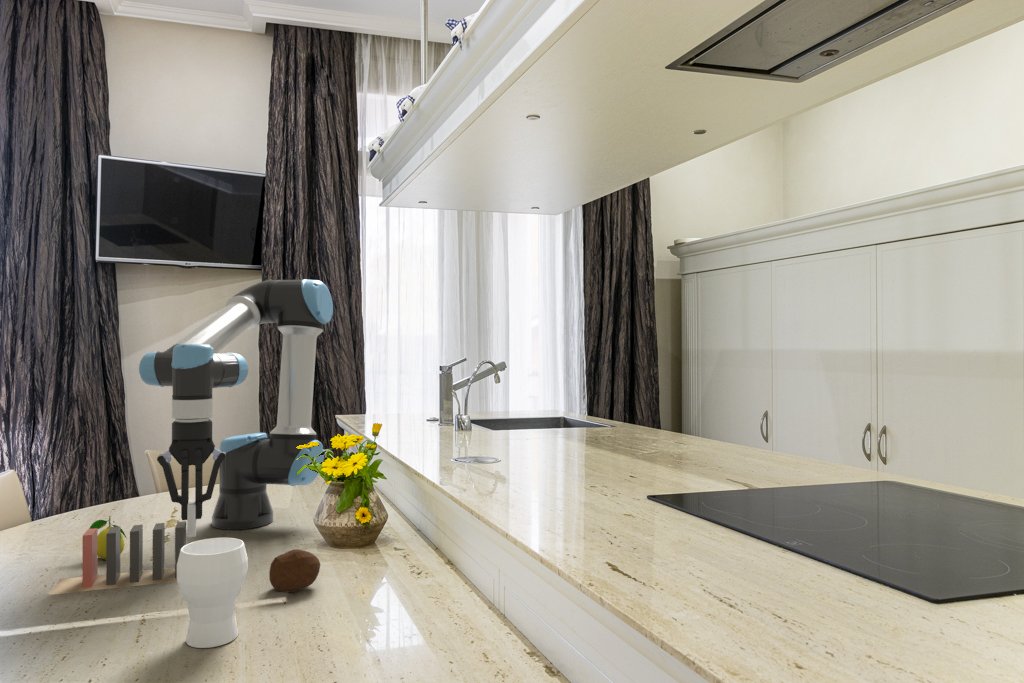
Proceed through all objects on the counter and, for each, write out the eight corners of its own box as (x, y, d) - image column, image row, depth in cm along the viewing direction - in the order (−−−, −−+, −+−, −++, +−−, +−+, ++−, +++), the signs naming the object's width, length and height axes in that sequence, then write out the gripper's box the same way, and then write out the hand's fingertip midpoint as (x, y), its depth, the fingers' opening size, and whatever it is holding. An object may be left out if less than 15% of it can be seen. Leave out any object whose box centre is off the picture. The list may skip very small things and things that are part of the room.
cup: (191, 625, 118) (191, 537, 118) (255, 623, 119) (255, 535, 119) (165, 654, 107) (165, 556, 107) (236, 651, 108) (236, 555, 108)
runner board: (203, 568, 147) (203, 564, 147) (200, 582, 139) (200, 578, 139) (60, 583, 138) (60, 579, 138) (47, 599, 129) (47, 594, 129)
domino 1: (97, 578, 138) (97, 528, 138) (92, 586, 134) (92, 534, 134) (88, 579, 138) (88, 528, 138) (82, 587, 133) (82, 535, 133)
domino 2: (120, 576, 140) (120, 526, 140) (115, 584, 135) (115, 532, 135) (111, 577, 139) (111, 527, 139) (106, 585, 135) (106, 533, 135)
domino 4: (164, 571, 143) (164, 522, 143) (161, 579, 138) (161, 529, 138) (155, 572, 142) (155, 523, 142) (152, 580, 137) (152, 529, 137)
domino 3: (142, 573, 141) (142, 524, 141) (138, 581, 137) (139, 531, 137) (133, 574, 141) (133, 525, 141) (129, 582, 136) (129, 531, 136)
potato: (262, 593, 133) (262, 551, 133) (305, 579, 141) (305, 540, 141) (285, 602, 129) (285, 559, 129) (328, 587, 137) (328, 547, 137)
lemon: (88, 561, 151) (88, 515, 151) (117, 555, 155) (118, 511, 155) (98, 568, 147) (98, 521, 146) (128, 562, 151) (128, 516, 151)
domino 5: (185, 569, 144) (186, 521, 144) (183, 577, 139) (184, 527, 139) (177, 570, 144) (177, 521, 143) (174, 578, 139) (175, 528, 139)
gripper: (227, 416, 148) (226, 527, 148) (158, 418, 143) (158, 533, 143) (226, 420, 141) (225, 537, 141) (154, 422, 136) (153, 543, 136)
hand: (191, 535), depth 142 cm, fingers closed
